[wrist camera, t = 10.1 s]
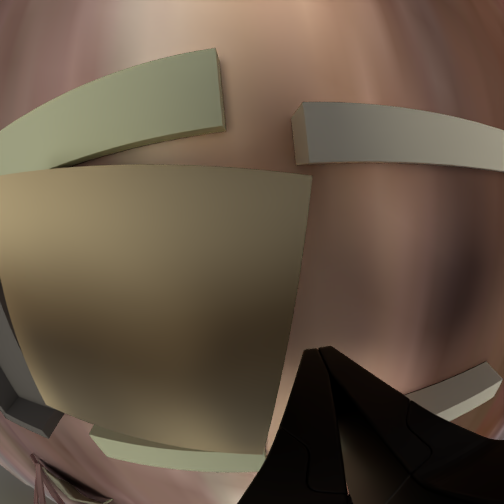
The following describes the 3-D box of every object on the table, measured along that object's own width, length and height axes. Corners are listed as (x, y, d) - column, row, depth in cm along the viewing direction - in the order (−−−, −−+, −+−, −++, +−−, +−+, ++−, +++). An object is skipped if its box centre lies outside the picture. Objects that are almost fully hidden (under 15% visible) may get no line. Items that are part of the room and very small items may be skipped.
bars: (266, 457, 12) (266, 471, 11) (111, 445, 12) (106, 456, 11) (219, 60, 7) (215, 48, 6) (5, 138, 7) (-10, 138, 6)
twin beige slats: (478, 379, 11) (493, 396, 9) (302, 434, 11) (307, 464, 10) (519, 145, 7) (546, 147, 5) (290, 118, 8) (302, 101, 6)
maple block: (259, 377, 11) (262, 454, 7) (87, 349, 10) (46, 404, 7) (284, 174, 8) (312, 176, 5) (68, 169, 8) (-9, 177, 4)
